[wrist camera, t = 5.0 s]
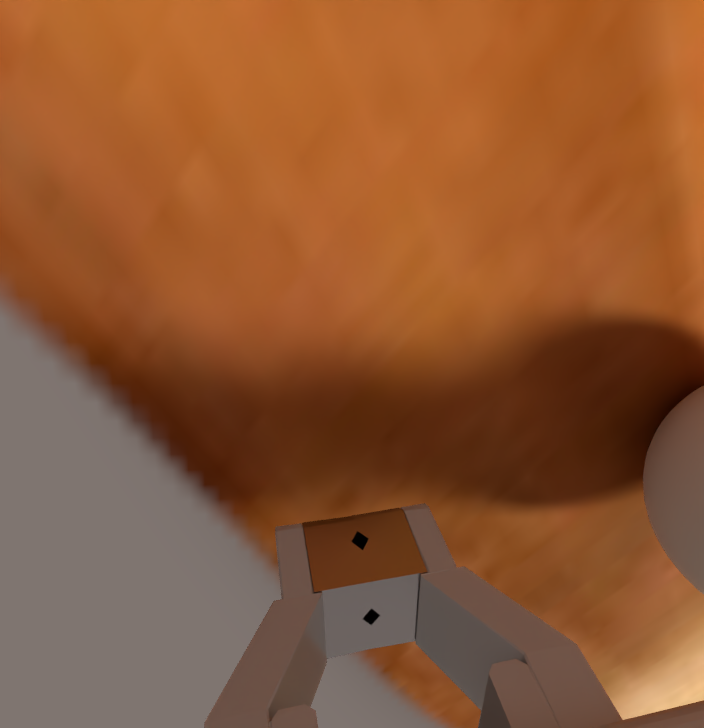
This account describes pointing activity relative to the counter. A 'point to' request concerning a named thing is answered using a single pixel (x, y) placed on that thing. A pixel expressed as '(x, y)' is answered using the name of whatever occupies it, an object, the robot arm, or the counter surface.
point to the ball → (679, 486)
